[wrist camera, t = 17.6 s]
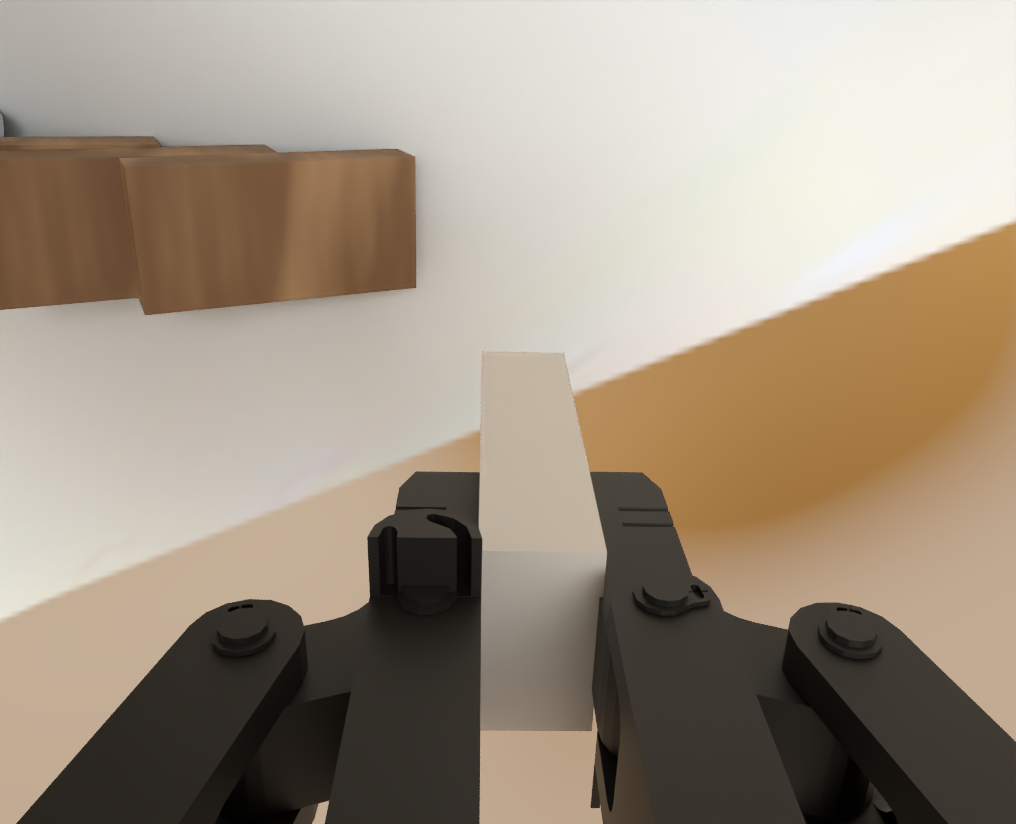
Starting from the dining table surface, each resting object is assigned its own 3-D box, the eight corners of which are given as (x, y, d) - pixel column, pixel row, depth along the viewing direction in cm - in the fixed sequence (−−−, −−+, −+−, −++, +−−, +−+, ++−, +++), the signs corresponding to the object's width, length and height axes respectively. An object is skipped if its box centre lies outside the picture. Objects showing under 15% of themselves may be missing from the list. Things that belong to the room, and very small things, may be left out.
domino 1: (272, 270, 36) (-6, 293, 32) (264, 144, 34) (-35, 150, 30) (284, 284, 35) (-7, 310, 30) (277, 153, 32) (-38, 160, 28)
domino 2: (398, 274, 36) (139, 298, 32) (396, 148, 34) (119, 157, 30) (416, 287, 35) (145, 315, 31) (415, 157, 33) (124, 167, 29)
